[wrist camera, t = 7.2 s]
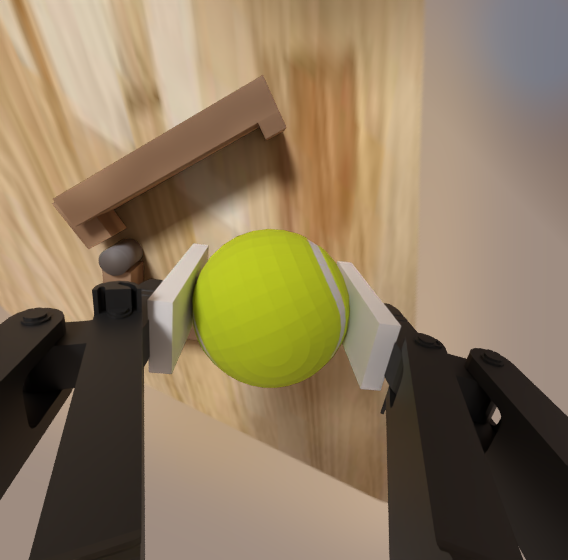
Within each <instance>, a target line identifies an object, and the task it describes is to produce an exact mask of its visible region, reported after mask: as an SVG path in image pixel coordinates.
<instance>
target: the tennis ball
mask: <svg viewBox="0 0 568 560" xmlns="http://www.w3.org/2000/svg"><path fill="white" fill-rule="evenodd" d="M192 303H193V308H192V320H193V326H194V331H195V334H196V337H197V340H198V342H199V344H200V346H201V348H202V349H203V351H204V352H205V353H206V355H207V356H208V357H209V358H210V360H211V361H212V362H213V363H214V364H215V365H216V366H217V367H219V368H220V369H221V370H222V371H223V372H225V373H226V374H227V375H229V376H231V377H232V378H234V379H236V380H238V381H240V382H243V383H246V384H249V385H252V386H257V387H263V388H278V387H284V386H289V385H292V384H296V383H299V382H301V381H303V380H305V379H307V378H309V377H311V376H312V375H314V374H315V373H316V372H318V371H319V370H320V369H321V368H322V367H323V366H325V365H326V364H327V363H328V361H329V360H330V359H331V358H332V357H333V356H334V355H335V353H336V351H337V350H338V348H339V347H340V345H341V344H342V342H343V339H344V336H345V334H346V331H347V327H348V321H349V313H350V304H349V294H348V290H347V287H346V283H345V280H344V278H343V275H342V273H341V271H340V269H339V268H338V266H337V264H336V263H335V261H334V260H333V259H332V258H331V257H330V256H329V254H328V253H327V252H326V251H325V250H324V249H322V248H321V247H320V246H317V245H316V244H314V243H313V242H311V241H309V240H308V239H307V238H306V237H304V236H302V235H300V234H296V233H293V232H289V231H285V230H274V229H265V230H258V231H252V232H249V233H246V234H243V235H240V236H237V237H236V238H234V239H232V240H231V241H229V242H227V243H226V244H224V245H223V246H222V247H221V248H220V249H219V250H218V251H216V252H215V253H214V254H213V255H212V256H211V257H210V259H209V260H208V261H207V263H206V264H205V266H204V267H203V268H202V270H201V272H200V275H199V277H198V279H197V282H196V284H195V287H194V292H193V300H192Z"/></svg>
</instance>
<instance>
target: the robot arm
mask: <svg viewBox="0 0 568 560" xmlns="http://www.w3.org/2000/svg"><path fill="white" fill-rule="evenodd" d="M208 249H209V245H202V244H194V243H193V245H192V246H191V247H190V248H189V250H188V251H187V252H186V253H185V254H184V256H183V257H182V258H181V259H180V261H179V262H178V263H177V264H176V266H175V267H174V268H173V269H172V270H171V272H170V273H169V274H168V275H167V277H166V278H165V279H164V280H156V279H149V280H147V281H144V282H142V283H140V284H139V285H138V284H136V283H134V282H129V281H110V282H106V283H101V284H99V285H97V286H95V287H94V288H93V290H92V294H93V305H94V318H93V320H89V321H79V322H65V319H64V314H63V312H62V311H60V310H57V309H52V308H34V309H33V308H32V309H28V310H26V311H23V312H20V313H17V314H15V315H13V316H11V317H9V318H8V319H7V320H5V321H4V322H3V323H2V324H0V500H1V498H2V497H3V495H4V494H5V492H6V490H7V489H8V487H9V486H10V484H11V483H12V481H13V480H14V478H15V477H16V475H17V474H18V472H19V471H20V469H21V468H22V466H23V464H24V463H25V462H26V460H27V459H28V457H29V456H30V454H31V453H32V451H33V450H34V448H35V446H36V445H37V443H38V442H39V440H40V439H41V437H42V436H43V434H44V433H45V431H46V430H47V428H48V427H49V425H50V424H51V422H52V420H53V419H54V418H55V416H56V415H57V413H58V412H59V410H60V409H61V407H62V406H63V404H64V403H65V401H66V399H67V398H68V396H69V395H70V393H71V392H72V389H73V388H75V389H74V392H73V397H72V400H71V404H70V408H69V411H68V415H67V419H66V423H65V426H64V430H63V434H62V437H61V441H60V445H59V448H58V452H57V456H56V460H55V463H54V467H53V471H52V475H51V479H50V482H49V486H48V489H47V493H46V497H45V501H44V505H43V508H42V512H41V516H40V519H39V523H38V527H37V530H36V535H35V538H34V542H33V545H32V549H31V553H30V557H29V560H145V495H144V494H145V493H144V492H145V489H144V366H145V364H146V363H147V361H148V359H149V372H151V373H164V374H172V372H173V370H174V368H175V365H176V363H177V361H178V358H179V356H180V354H181V351H182V349H183V347H184V344H185V342H186V340H187V337H188V335H189V333H190V330H191V328H192V326H193V320H192V308H193V303H192V300H193V292H194V287H195V284H196V282H197V279H198V277H199V275H200V272H201V270H202V268H203V267H204V266H205V264H206V263H207V261H208ZM337 266H338V268H339V269H340V271H341V273H342V275H343V278H344V280H345V283H346V287H347V290H348V294H349V304H350V313H349V321H348V327H347V331H346V334H345V336H344V339H343V342H342V344H343V347H344V349H345V352H346V354H347V357H348V359H349V362H350V364H351V367H352V369H353V372H354V374H355V376H356V379H357V381H358V384H359V386H360V389H367V390H379V391H381V387H382V384H383V381H384V378H386V380H387V382H388V384H389V388H388V391H387V394H386V397H385V400H384V404H383V407H382V410H381V414H384V412H385V410H386V426H387V469H388V509H389V511H388V512H389V554H390V560H523V558H522V555H521V552H520V550H521V551H522V553H523V555H524V557H525V559H526V560H568V416H567V415H565V414H564V413H563V412H562V411H561V410H560V409H559V408H558V407H557V406H556V405H555V404H554V403H553V402H552V401H551V400H550V399H549V398H548V397H547V396H546V395H545V394H544V393H543V392H542V391H541V390H540V389H538V388H537V387H536V386H535V385H534V384H533V383H532V382H531V381H530V380H529V379H528V378H527V377H526V376H525V375H524V374H523V373H522V372H521V371H520V370H519V369H518V368H517V367H516V366H515V365H514V364H512V363H511V362H510V361H509V360H507V359H506V358H504V357H503V356H501V355H500V354H498V353H497V352H493V351H491V350H485V349H481V348H474V349H471V350H470V353H469V355H468V357H467V359H465V358H462V357H458V356H454V355H451V354H447V351H446V348H445V347H444V345H443V344H442V343H441V342H440V341H438V340H437V339H435V338H433V337H431V336H429V335H426V334H422V333H418V332H417V331H416V330H415V329H414V328H413V327H412V325H411V324H410V323H409V322H407V319H406V318H405V317H403V315H402V314H401V312H400V311H399V310H398V309H396V308H395V307H393V306H392V305H390V304H386V303H383V302H382V301H381V300H380V298H379V297H378V296H377V294H376V293H375V292H374V291H373V289H372V288H371V287H370V286H369V284H368V283H367V282H366V280H365V279H364V278H363V277H362V275H361V274H360V273H359V271H358V270H357V269H356V268H355V266H354V265H353V264H352V263H351V262H342V261H338V262H337ZM496 407H498V409H499V411H500V413H501V419H500V421H499V423H498V424H497V425H496V424H495V422H494V421H493V420H492V419H491V417H492V415H493V413H494V411H495V409H496ZM518 546H519V547H518ZM519 548H520V549H519Z"/></svg>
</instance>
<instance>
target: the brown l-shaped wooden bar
mask: <svg viewBox="0 0 568 560" xmlns="http://www.w3.org/2000/svg"><path fill="white" fill-rule="evenodd" d="M142 255H143V249H142V247H141V245H140V244H139V243H138V242H137V241H135V240H133V239H123V240H121V241H120V242H118V243H116V244H115V245H113V246H112V247H110V248H108V249H107V250H105V251H103V252H102V253H101V254H100V256H99V265H100V267H101V268H102V273H103V283H106V282H110V281H129V282H134V283H136V284H138V285H139V284H140V283H142V282H144V273H143V261H139V260H140V259H141V258H142ZM187 339H191V340H197V337H196V334H195V331H194V326H192V328H191V330H190V333H189V335H188V337H187Z"/></svg>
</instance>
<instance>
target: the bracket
mask: <svg viewBox="0 0 568 560" xmlns="http://www.w3.org/2000/svg"><path fill="white" fill-rule="evenodd" d="M259 127H260V129H261V132H262V134H263V136H264V138H265V140H266V141H267V140H269V139H270V138H272V137H274V136H276V135H278V134H279V133H281V132H283V131H284V130H285V129H286V125H285V123H284V121H283V119H282V116H281V114H280V112H279V110H278V108H277V105H276V103H275V101H274V99H273V97H272V94H271V92H270V90H269V88H268V85H267V83H266V81H265V79H264V77H263V75H262V76H260V77H258V78H257V79H255V80H253V81H252V82H250V83H248V84H247V85H245V86H243V87H241V88H240V89H238V90H236V91H235V92H233V93H231V94H230V95H228V96H226V97H225V98H223V99H221V100H219V101H218V102H216V103H214V104H213V105H211V106H209V107H208V108H206V109H204V110H202V111H201V112H199V113H197V114H196V115H194V116H192V117H191V118H189V119H187V120H186V121H184V122H182V123H180V124H179V125H177V126H175V127H174V128H172V129H170V130H169V131H167V132H165V133H163V134H162V135H160V136H158V137H157V138H155V139H153V140H152V141H150V142H148V143H147V144H145V145H143V146H141V147H140V148H138V149H136V150H135V151H133V152H131V153H130V154H128V155H126V156H125V157H123V158H121V159H119V160H118V161H116V162H114V163H113V164H111V165H109V166H108V167H106V168H104V169H102V170H101V171H99V172H97V173H96V174H94V175H92V176H91V177H89V178H87V179H86V180H84V181H82V182H80V183H79V184H77V185H75V186H74V187H72V188H70V189H69V190H67V191H65V192H63V193H62V194H60V195H58V196H57V197H55V198H53V200H54V203H52V204H53V205H54V207H55V208H56V209H57V211H58V212H59V213H60V214H61V216H62V217H63V218H64V219H65V221H66V222H67V223H68V224H69V226H70V227H71V228H72V229H73V231H74V232H75V233H76V234H77V236H78V237H79V238H80V239H81V241H82V242H83V243H84V244H85V246H86V247H87V248H88V249H90V248H92V247H94V246H95V245H97V244H99V243H101V242H103V241H105V240H106V239H108V238H110V237H112V236H114V235H115V234H117V233H119V232H121V231H123V230H124V229H126V226H125V225H124V224H123V222H122V221H121V220H120V218H119V217H118V215H117V214H116V213H115V211H114V209H116V208H117V207H119V206H121V205H123V204H125V203H126V202H128V201H130V200H132V199H133V198H135V197H137V196H139V195H140V194H142V193H144V192H146V191H148V190H149V189H151V188H153V187H155V186H156V185H158V184H160V183H162V182H163V181H165V180H167V179H169V178H170V177H172V176H174V175H176V174H178V173H179V172H181V171H183V170H185V169H186V168H188V167H190V166H192V165H193V164H195V163H197V162H199V161H200V160H202V159H204V158H206V157H208V156H209V155H211V154H213V153H215V152H216V151H218V150H220V149H222V148H223V147H225V146H227V145H229V144H231V143H232V142H234V141H236V140H238V139H239V138H241V137H243V136H245V135H246V134H248V133H250V132H252V131H253V130H255V129H257V128H259Z"/></svg>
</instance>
